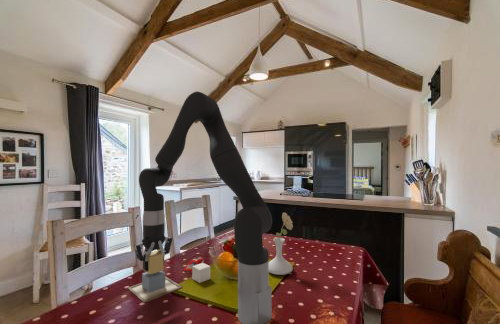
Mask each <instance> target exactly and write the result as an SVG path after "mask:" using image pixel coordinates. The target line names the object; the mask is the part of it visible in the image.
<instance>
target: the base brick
mask: <svg viewBox="0 0 500 324" xmlns="http://www.w3.org/2000/svg"><path fill="white" fill-rule="evenodd" d="M165 276H166V272H165V271H164V270H162V271H159V272H156V273H153V274H149V273H147V272H146V271H145V272H143V273H141V283H142V288H144V289H145V290H146V291H148V292H149V293H151V292H153V291H156V290H159V289H161V288H164V287H165Z"/></svg>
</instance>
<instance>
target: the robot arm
mask: <svg viewBox="0 0 500 324" xmlns="http://www.w3.org/2000/svg"><path fill="white" fill-rule="evenodd" d="M196 121H198V122H200V123H201V124H202V125H203V127H204V129H205V131H206V134H207V135H208V139H209V157H210V159H211V162H212V164H213V167H214V168H215V169H214V170H215V171H216V174H217V176H218V177H219V178H220V179H221V180H222V182H223V183H224V184H225V185H226V186H227V187H228V188H229V189H230V190H231V191H232V192H233V194H235V196H236V197H237V199H238V201H239V202H240V205H241V207H242V208H241V209H239V210H238V211H237V212H236V214H235V218H234V222H233V227H234V228H233V229H234V231H233V232H234V234H233V235H234V247H235V253H236V255H237V319H238V321H239V322H240V323H241V324H266V323H268V322H270V321H271V320H272V317H273V316H272V311H273V310H272V286H270V283H269V282H270V281H269V279H270V278H269V277H270V275H269V273H270V272H269V262H270V261H269V259H270V258H269V254H270V253H269V251H268V249H267V248H266V247H264V246H263V244H264V243H263V235H265V233H266V234H267V233H268V232H269V231H270V230H271V228H272V225H273V216H272V213H271V211H270V209H269V207H268V206H267V204H266V202H265V201H264V200H263V199H264V198H262V196H261V194H260V193H259V190H258V189H257V187H256V186H255V183H254V181H253V179H252V177H251V176H250V173H249V171H248V169H247V167H246V166H245V163H244V161H243V158H242V156H241V154H240V152H239V150H238V148H237V146H236V144H235V142H234V140H233V138H232V136H231V134H230V132H229V131H228V129H227V126H226V124H225V121H224V118H223V115H222V112H221V110H220V107H219V105H218V103H217V101H216V100H215V99H214V98H212V97H211V96H208V95H207V94H206V93H204V92H201V91H193V92H191V93H190V94H188V96H187V97H186V98H185V100H184V102H183V104H182V106H181V108H180V110H179V113H178V115H177V117H176V120H175V122H174V124H173V126H172V129H171V132H170V133H169V135H168V137H167V138H166V140H165V142H164V143H163V145H162V146H161V148H160V150H159V151H158V153H157V154H156V155H155V159H154V160H155V163H156V164H157V166H156V167H146V168H144V169H142V170H141V172H140V173H139V176H138V184H139V188H140V191H141V195H142V198H143V215H142V240H141V241H140V242H139V243H135V244H134V245H133V247H134V248H133V249H134V253H135V255H136V259H137V260H138V261H140V262H142V269H143V271H144V270H145V271H144V272H145V273H146V272H147V271H148V259H149V256H150V255H151V252H154V251H158V252H160V253H163V266H164V265H165V256H166V255H168V254H170V253H171V252H170V251H171V246H172V243H173V238H172V237H170V236H165V231H166V229H165V228H166V226H165V225H166V223H165V196H164V195H163V193H159V192H158V190H157V187H163V186H164V185H166V184H167V182H168V181H169V180H170V178H171V175H172V172H173V169H174V166H175V165H176V163H177V162H178V161H179V159H180V158H181V156H182V154H183V153H184V149H185V147H186V140H187V136H188V132H189V130H190V128H191V127H192V126H193V124H194V123H195V122H196ZM163 244H164V247H163ZM143 247H144V250H143V252H142V249H143Z"/></svg>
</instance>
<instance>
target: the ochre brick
mask: <svg viewBox="0 0 500 324" xmlns="http://www.w3.org/2000/svg"><path fill="white" fill-rule="evenodd" d="M143 271H144V272H146V271H145V270H144V269H143ZM159 271H164V265H163V253H160V252H158V250H154V251H152V252H151V255H150V256H149V259H148V271H147V273H149V274H153V273H156V272H159Z"/></svg>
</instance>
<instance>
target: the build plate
mask: <svg viewBox="0 0 500 324" xmlns="http://www.w3.org/2000/svg"><path fill="white" fill-rule="evenodd" d="M180 289H183V286H182V285H180V284H179V283H177V282H175V281H174V280H172V279H171V278H168V277H167V276H166V275H165V287H164V288H161V289H159V290H156V291H153V292H151V293H149V292H148V291H146V290H145V289H144V288H142V282H140V283H136V284H134V285H131V286H129V287H127V290H129V291H130V292H131V293H132V294H133V295H134V296H136V297H137V298H138V299H139V300H140V301H142V303H144V304H145V303H148V302H150V301H153V300H155V299H158V298H160V297H162V296H165V295H168V294H170V293H173V292H176V291H178V290H180Z"/></svg>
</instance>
